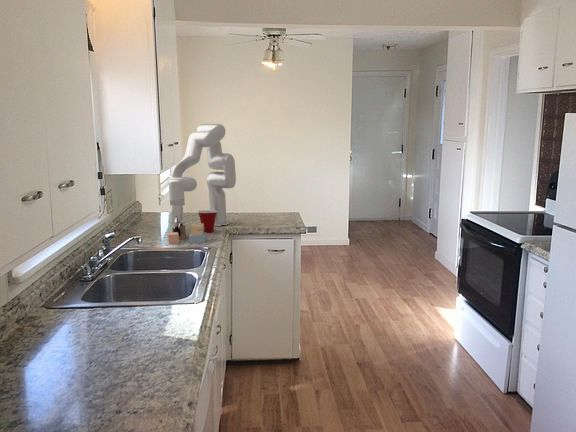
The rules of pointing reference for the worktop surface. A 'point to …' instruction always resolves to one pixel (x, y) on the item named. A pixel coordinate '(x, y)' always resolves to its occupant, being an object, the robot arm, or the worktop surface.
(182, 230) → the walnut cube
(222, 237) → the worktop surface
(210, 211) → the plastic cup
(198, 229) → the oak block
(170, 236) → the terracotta block
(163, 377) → the worktop surface
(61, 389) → the worktop surface
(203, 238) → the base block
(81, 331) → the worktop surface
